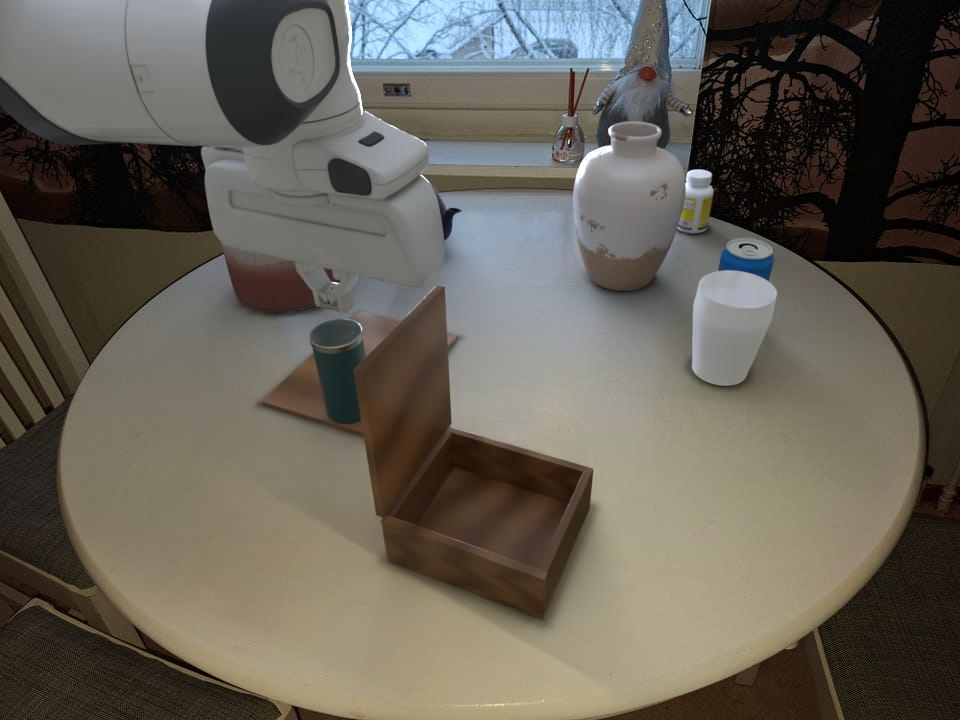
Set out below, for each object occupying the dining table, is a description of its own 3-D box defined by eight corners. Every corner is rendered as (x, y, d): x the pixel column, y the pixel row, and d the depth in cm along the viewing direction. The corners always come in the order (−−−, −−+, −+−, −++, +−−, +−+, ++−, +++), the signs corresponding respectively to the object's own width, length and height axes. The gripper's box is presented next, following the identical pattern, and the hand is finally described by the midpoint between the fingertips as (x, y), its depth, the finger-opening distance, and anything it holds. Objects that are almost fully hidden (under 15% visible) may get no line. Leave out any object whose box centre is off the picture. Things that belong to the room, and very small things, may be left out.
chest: (589, 508, 68) (593, 468, 65) (542, 620, 59) (544, 579, 55) (451, 465, 74) (448, 426, 70) (387, 561, 64) (380, 520, 61)
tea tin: (357, 430, 78) (342, 352, 72) (316, 417, 80) (298, 341, 74) (383, 400, 82) (372, 324, 76) (343, 388, 84) (329, 314, 78)
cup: (678, 348, 90) (692, 268, 83) (749, 351, 89) (770, 271, 82) (686, 390, 83) (702, 307, 76) (762, 395, 82) (786, 311, 75)
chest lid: (445, 285, 60) (437, 284, 60) (362, 372, 50) (352, 369, 51) (451, 423, 70) (445, 421, 70) (383, 518, 60) (375, 515, 60)
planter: (279, 253, 116) (258, 163, 106) (371, 269, 110) (358, 175, 101) (211, 306, 102) (181, 208, 93) (312, 326, 97) (290, 225, 88)
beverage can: (752, 314, 96) (771, 237, 89) (759, 340, 91) (780, 261, 84) (705, 311, 97) (720, 235, 90) (709, 337, 92) (725, 258, 85)
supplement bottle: (704, 221, 121) (714, 167, 115) (709, 234, 116) (719, 180, 110) (673, 220, 121) (681, 167, 115) (676, 234, 117) (685, 179, 111)
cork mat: (373, 439, 78) (372, 435, 77) (262, 404, 83) (261, 401, 83) (457, 338, 94) (457, 334, 93) (359, 314, 99) (359, 311, 99)
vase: (550, 284, 104) (556, 136, 91) (595, 243, 115) (606, 105, 101) (648, 313, 97) (669, 156, 84) (686, 266, 108) (711, 121, 94)
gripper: (166, 143, 51) (216, 300, 59) (404, 180, 44) (422, 353, 52) (224, 118, 55) (262, 267, 64) (448, 147, 48) (458, 311, 56)
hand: (336, 306), depth 58 cm, fingers closed
